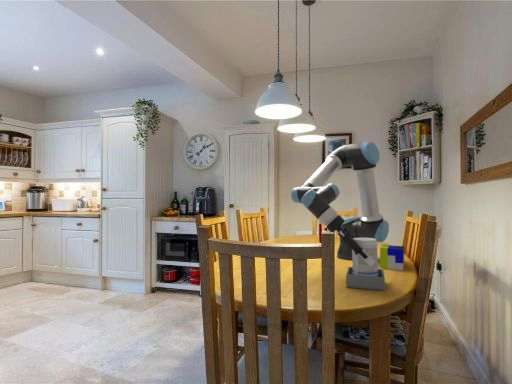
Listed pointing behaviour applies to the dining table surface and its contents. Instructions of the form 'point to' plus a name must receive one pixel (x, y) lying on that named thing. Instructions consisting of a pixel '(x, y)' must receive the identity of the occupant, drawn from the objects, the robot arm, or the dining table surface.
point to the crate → (365, 281)
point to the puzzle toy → (392, 257)
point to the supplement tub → (359, 264)
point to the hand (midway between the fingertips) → (373, 261)
